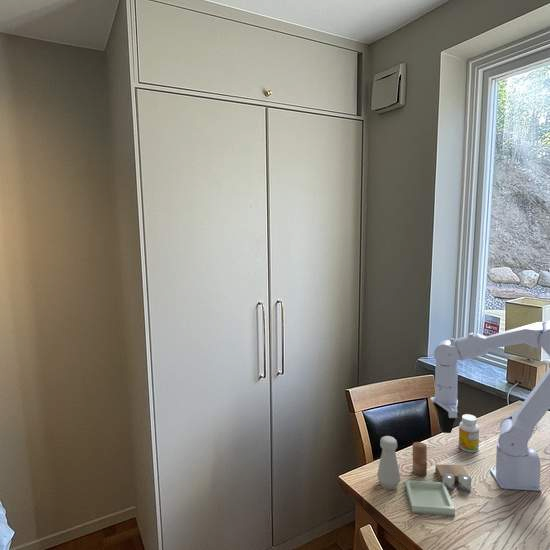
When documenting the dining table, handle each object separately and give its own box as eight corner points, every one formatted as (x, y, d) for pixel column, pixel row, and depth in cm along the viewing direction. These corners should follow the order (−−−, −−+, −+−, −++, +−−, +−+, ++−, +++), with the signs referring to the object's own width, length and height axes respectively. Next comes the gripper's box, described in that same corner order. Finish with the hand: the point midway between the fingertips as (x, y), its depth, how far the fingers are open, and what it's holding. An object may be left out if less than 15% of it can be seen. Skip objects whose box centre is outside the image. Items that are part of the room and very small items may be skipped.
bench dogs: (468, 484, 104) (469, 474, 103) (472, 492, 101) (472, 481, 100) (440, 483, 105) (440, 472, 104) (443, 490, 102) (443, 480, 101)
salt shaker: (401, 493, 101) (401, 445, 100) (378, 491, 103) (377, 444, 101) (398, 479, 107) (398, 433, 105) (376, 477, 108) (376, 432, 107)
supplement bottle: (455, 442, 123) (456, 413, 122) (473, 442, 123) (474, 412, 122) (463, 452, 118) (464, 421, 117) (481, 452, 118) (482, 421, 116)
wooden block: (461, 473, 109) (461, 464, 109) (468, 485, 104) (469, 476, 104) (435, 472, 110) (435, 464, 109) (441, 484, 105) (441, 475, 104)
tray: (443, 488, 102) (444, 482, 102) (454, 515, 93) (455, 508, 93) (405, 486, 104) (405, 480, 104) (412, 512, 95) (412, 505, 94)
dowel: (424, 469, 111) (424, 442, 110) (427, 477, 107) (428, 449, 106) (411, 468, 111) (411, 441, 110) (414, 476, 108) (414, 449, 107)
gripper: (425, 373, 118) (424, 417, 120) (437, 394, 104) (436, 443, 106) (450, 374, 117) (449, 417, 119) (466, 395, 103) (465, 444, 105)
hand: (445, 429), depth 112 cm, fingers closed
